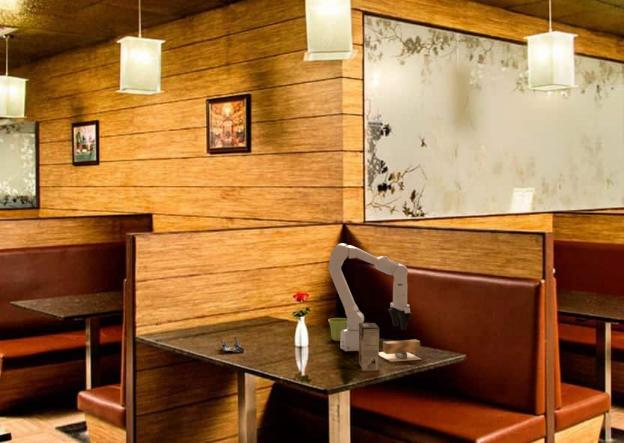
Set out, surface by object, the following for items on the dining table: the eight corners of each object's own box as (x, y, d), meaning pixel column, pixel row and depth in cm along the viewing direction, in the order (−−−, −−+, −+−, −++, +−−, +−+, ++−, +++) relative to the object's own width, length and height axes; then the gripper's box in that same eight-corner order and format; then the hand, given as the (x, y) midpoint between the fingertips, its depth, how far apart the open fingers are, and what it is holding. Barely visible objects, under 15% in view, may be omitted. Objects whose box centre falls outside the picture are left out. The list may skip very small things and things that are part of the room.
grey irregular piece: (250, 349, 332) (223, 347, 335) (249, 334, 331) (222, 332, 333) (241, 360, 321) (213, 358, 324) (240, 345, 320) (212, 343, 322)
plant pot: (324, 340, 347) (324, 320, 347) (332, 336, 356) (332, 317, 355) (345, 342, 344) (345, 322, 343) (352, 338, 352) (352, 318, 352)
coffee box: (358, 364, 305) (358, 322, 304) (375, 364, 305) (375, 322, 304) (361, 370, 296) (362, 327, 295) (379, 370, 296) (379, 327, 295)
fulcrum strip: (402, 359, 310) (402, 353, 310) (394, 355, 316) (394, 350, 316) (407, 359, 310) (407, 353, 310) (399, 355, 317) (399, 349, 317)
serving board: (390, 363, 307) (390, 361, 307) (374, 354, 322) (374, 352, 322) (421, 361, 311) (421, 359, 311) (403, 352, 326) (404, 350, 326)
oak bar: (387, 354, 309) (387, 343, 309) (382, 351, 313) (382, 341, 313) (420, 351, 314) (420, 341, 313) (415, 349, 317) (415, 339, 317)
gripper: (417, 296, 319) (416, 330, 320) (401, 291, 333) (401, 323, 334) (400, 297, 317) (400, 331, 318) (385, 292, 331) (385, 324, 332)
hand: (399, 327), depth 326 cm, fingers open, 7 cm apart
